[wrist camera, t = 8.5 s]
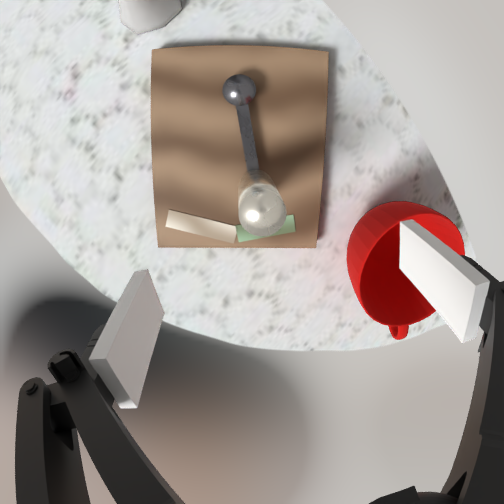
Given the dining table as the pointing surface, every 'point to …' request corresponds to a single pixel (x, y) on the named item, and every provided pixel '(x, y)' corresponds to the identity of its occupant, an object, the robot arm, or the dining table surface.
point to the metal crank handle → (253, 168)
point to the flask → (147, 14)
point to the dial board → (236, 142)
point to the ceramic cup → (393, 263)
